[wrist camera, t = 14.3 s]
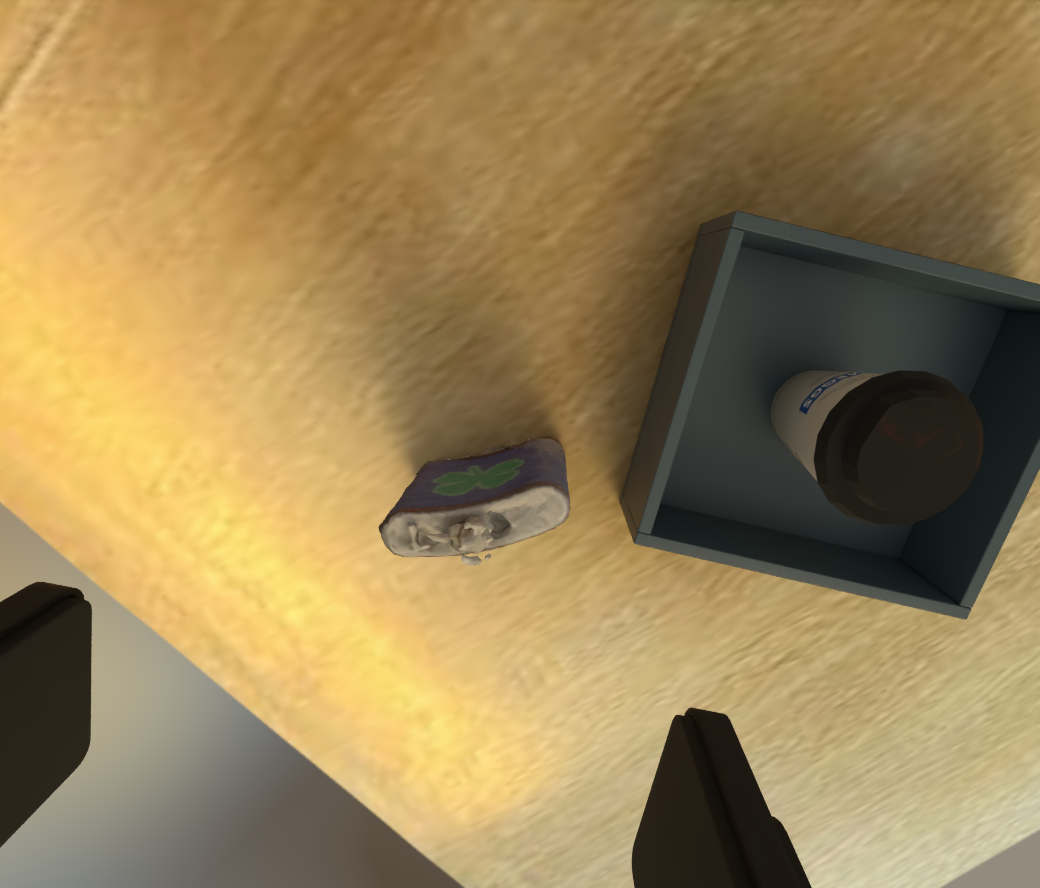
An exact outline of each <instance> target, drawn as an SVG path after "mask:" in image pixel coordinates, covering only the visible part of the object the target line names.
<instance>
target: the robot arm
mask: <svg viewBox="0 0 1040 888" xmlns="http://www.w3.org/2000/svg"><path fill="white" fill-rule="evenodd" d="M91 631H92V609H91V604H90V603H89V602H88V601H86V600H84V595H83V593H82V592H81V591H80V590H79V589H77V588H72V587H67V586H62V585H56V584H51V583H46V582H36V583H33V584H31V585H29V586H27V587H25V588H24V589H22V590H20V591H18V592H17V593H15V594H14V595H12V596H10V597H8V598H6V599H5V600H3V601H1V602H0V847H1V846H2V845H3V844H4V843H5V842H6V841H7V840H8V839H9V838H10V837H11V836H12V835H13V834H14V833H15V832H16V831H17V830H18V829H19V828H20V827H21V825H22V824H23V823H24V822H25V821H26V820H27V819H28V818H29V817H30V816H31V815H32V814H33V813H34V812H35V811H36V810H37V809H38V808H39V807H40V806H41V805H42V804H43V803H44V802H45V801H46V799H47V798H49V796H50V795H51V794H52V793H53V792H54V791H55V790H56V789H57V788H58V787H59V786H60V785H61V784H62V783H63V782H64V781H65V780H66V779H67V778H68V777H69V776H70V775H71V774H72V773H73V772H74V771H75V769H76V768H77V767H78V766H79V765H80V764H81V762H82V761H83V759H84V757H85V755H86V753H87V751H88V748H89V745H90V736H91V735H90V734H91V733H90V732H91V635H92V634H91V633H92V632H91ZM632 873H633V880H634V886H635V888H812V887H811V885H810V883H809V881H808V878H807V876H806V874H805V872H804V869H803V867H802V865H801V863H800V861H799V858H798V856H797V854H796V852H795V849H794V847H793V845H792V843H791V840H790V838H789V836H788V834H787V832H786V830H785V828H784V827H783V825H782V823H781V822H780V821H779V820H778V819H776V818H775V817H772V816H771V814H770V812H769V809H768V807H767V805H766V802H765V800H764V798H763V795H762V793H761V791H760V788H759V786H758V784H757V781H756V779H755V777H754V775H753V772H752V770H751V768H750V765H749V763H748V761H747V758H746V756H745V754H744V751H743V749H742V747H741V744H740V742H739V740H738V737H737V735H736V733H735V731H734V728H733V726H732V724H731V721H730V719H729V718H728V716H727V715H725V714H722V713H717V712H712V711H706V710H701V709H696V708H689V709H688V710H687V711H686V713H685V715H684V716H681V715H676V716H675V717H674V719H673V721H672V724H671V727H670V730H669V733H668V736H667V740H666V743H665V746H664V749H663V752H662V756H661V759H660V762H659V765H658V768H657V772H656V775H655V778H654V781H653V784H652V788H651V791H650V794H649V797H648V800H647V803H646V807H645V810H644V813H643V816H642V819H641V823H640V826H639V829H638V832H637V835H636V839H635V842H634V846H633V852H632Z"/></svg>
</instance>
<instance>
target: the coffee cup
mask: <svg viewBox="0 0 1040 888" xmlns="http://www.w3.org/2000/svg"><path fill="white" fill-rule="evenodd" d="M770 417H771V422H772V427H773V428H774V430H775V432H776V433H777V435H778V437H779V438H780V439H781V440H782V441H783V442H784V444H785V445H786V446H787V447H788V448H789V449H790V450H791V452H792V453H793V454H794V455H795V456H796V457H797V458H798V460H799V461H800V462H801V463H802V464H803V465H804V466H805V468H806V469H807V470H808V471H809V472H810V473H811V474H812V476H813V477H814V478H815V479H816V480H817V483H818V484H819V486H820V488H821V489H822V491H823V493H824V494H825V496H826V498H827V499H828V501H829V502H830V503H831V504H832V505H833V506H835V507H836V508H837V509H838V510H840V511H841V512H842V513H843V514H845V515H846V516H847V517H850V518H853V519H856V520H859V521H861V522H864V523H867V524H875V525H905V524H909V523H913V522H918V521H922V520H926V519H928V518H930V517H931V516H933V515H935V514H937V513H939V512H941V511H942V510H944V509H946V508H948V507H949V506H950V505H951V504H952V503H953V502H954V501H955V500H956V499H957V498H959V497H960V496H961V495H962V494H963V493H964V492H965V491H966V490H967V488H968V487H969V485H970V483H971V481H972V480H973V478H974V476H975V475H976V473H977V471H978V470H979V467H980V463H981V459H982V455H983V450H984V446H985V443H984V434H983V424H982V421H981V419H980V417H979V415H978V413H977V411H976V409H975V407H974V405H973V403H972V402H971V400H970V399H969V397H968V396H967V395H966V394H965V393H964V392H962V391H961V390H960V389H959V388H958V387H957V386H956V385H954V384H953V383H952V382H951V381H950V380H948V379H945V378H943V377H940V376H937V375H935V374H932V373H929V372H927V371H907V370H898V371H894V372H890V373H887V374H877V373H859V372H841V371H821V370H810V371H806V372H803V373H799V374H797V375H795V376H794V377H792V378H790V379H789V380H787V381H786V382H785V383H784V384H783V385H782V386H781V387H780V389H779V390H778V391H777V393H776V395H775V397H774V399H773V401H772V405H771V412H770Z"/></svg>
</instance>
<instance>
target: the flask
mask: <svg viewBox="0 0 1040 888" xmlns="http://www.w3.org/2000/svg"><path fill="white" fill-rule="evenodd" d="M416 475H417V476H416V477H415V479H414V480H413V482H412V483H411V484H410V485H409V486H408V487H407V488H406V489H405V492H404V493H403V495H402V497H401V498H400V499H399V501H398V502H397V503H396V505H395V507H394V508H393V509H392V510H391V511H390V512H389V514H388V515H387V517H386V518H385V520H384V521H383V522H382V523H381V524H380V526H379V531H380V533H381V537H382V539H383V541H384V544H385V545H386V547H387V548H388V549H389V550H390V551H391V552H392V553H393V554H395V555H399V556H402V557H439V556H457V555H462V562H463V563H464V564H467V565H475V566H476V565H479V564H480V563H481V561H482V560H481V559H480V558H478V557H477V556H475V557H467V556H465V554H470V553H477V554H478V553H479V552H482V551H487V550H492V549H495V548H500V547H503V546H506V545H510V544H513V543H516V542H519V541H522V540H525V539H527V538H531V537H534V536H537V535H540V534H543V533H545V532H547V531H549V530H552V529H555V528H556V527H557V526H559V525H560V524H562V523H563V522H565V521H566V519H567V517H568V516H569V511H570V498H569V491H568V483H567V475H566V461H565V451H564V449H563V447H562V446H561V444H559V443H558V441H556V440H554V439H551V438H538V439H529V440H528V439H527V440H526V441H525V443H522V444H520V445H513V446H508V447H505V446H500V447H495V446H494V447H493V448H491V449H486V450H485V451H484V453H481V454H479V455H478V456H470V455H469V454H467V455H466V456H464V457H462V458H460V459H450V458H449V457H448V458H447V459H442V460H435V461H428V462H427V463H426V464H425V465H424V466H423V467H422V468H421V469H420V471H419V472H418V473H417V474H416ZM489 558H491V555H489V554H488V555H486V556H485V560H488V559H489Z"/></svg>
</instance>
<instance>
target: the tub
mask: <svg viewBox="0 0 1040 888" xmlns="http://www.w3.org/2000/svg"><path fill="white" fill-rule="evenodd" d="M810 370H821V371H841V372H859V373H877V374H887V373H890V372H894V371H898V370H907V371H927V372H929V373H932V374H935V375H937V376H940V377H943V378H945V379H948V380H950V381H951V382H952V383H953V384H954V385H956V386H957V387H958V388H959V389H960V390H961V391H962V392H964V393H965V394H966V395H967V396H968V397H969V399H970V400H971V402H972V403H973V405H974V407H975V409H976V411H977V413H978V415H979V417H980V419H981V421H982V424H983V434H984V443H985V446H984V450H983V455H982V459H981V463H980V467H979V470H978V471H977V473H976V475H975V476H974V478H973V480H972V481H971V483H970V485H969V487H968V488H967V490H966V491H965V492H964V493H963V494H962V495H961V496H960V497H959V498H957V499H956V500H955V501H954V502H953V503H952V504H951V505H950V506H949V507H948V508H946V509H944V510H942V511H941V512H939V513H937V514H935V515H933V516H931V517H930V518H928V519H926V520H922V521H918V522H913V523H909V524H905V525H875V524H867V523H864V522H861V521H859V520H856V519H853V518H850V517H847V516H846V515H845V514H843V513H842V512H841V511H840V510H838V509H837V508H836V507H835V506H833V505H832V504H831V503H830V502H829V501H828V499H827V498H826V496H825V494H824V493H823V491H822V489H821V488H820V486H819V484H818V483H817V480H816V479H815V478H814V477H813V476H812V474H811V473H810V472H809V471H808V470H807V469H806V468H805V466H804V465H803V464H802V463H801V462H800V461H799V460H798V458H797V457H796V456H795V455H794V454H793V453H792V452H791V450H790V449H789V448H788V447H787V446H786V445H785V444H784V442H783V441H782V440H781V439H780V438H779V437H778V435H777V433H776V432H775V430H774V428H773V427H772V422H771V417H770V412H771V405H772V401H773V399H774V397H775V395H776V393H777V391H778V390H779V389H780V387H781V386H782V385H783V384H784V383H785V382H786V381H787V380H789V379H790V378H792V377H794V376H795V375H797V374H799V373H803V372H806V371H810ZM1039 469H1040V284H1036V283H1032V282H1028V281H1024V280H1020V279H1016V278H1011V277H1007V276H1003V275H999V274H995V273H991V272H987V271H983V270H979V269H974V268H970V267H966V266H962V265H958V264H954V263H950V262H946V261H942V260H937V259H933V258H929V257H925V256H921V255H917V254H913V253H909V252H905V251H900V250H896V249H892V248H888V247H884V246H880V245H876V244H872V243H868V242H863V241H859V240H855V239H851V238H847V237H843V236H839V235H835V234H831V233H826V232H822V231H818V230H814V229H810V228H806V227H802V226H798V225H794V224H789V223H785V222H781V221H777V220H773V219H769V218H765V217H761V216H757V215H752V214H748V213H744V212H740V211H734V212H731V213H729V214H726V215H723V216H721V217H718V218H715V219H713V220H710V221H707V222H705V223H702V224H701V225H700V228H699V232H698V235H697V239H696V242H695V245H694V249H693V252H692V256H691V259H690V262H689V266H688V269H687V273H686V276H685V280H684V283H683V286H682V290H681V293H680V297H679V300H678V303H677V307H676V310H675V314H674V317H673V321H672V324H671V327H670V331H669V334H668V338H667V341H666V344H665V348H664V351H663V355H662V358H661V362H660V365H659V368H658V372H657V375H656V379H655V382H654V385H653V389H652V392H651V396H650V399H649V403H648V406H647V409H646V413H645V416H644V420H643V423H642V426H641V430H640V433H639V437H638V440H637V444H636V447H635V450H634V454H633V457H632V461H631V464H630V467H629V471H628V474H627V478H626V481H625V485H624V488H623V491H622V495H621V498H620V505H621V507H622V510H623V513H624V516H625V519H626V522H627V524H628V527H629V530H630V533H631V536H632V539H633V542H634V543H635V544H638V545H642V546H646V547H651V548H655V549H660V550H664V551H668V552H673V553H677V554H681V555H686V556H690V557H694V558H699V559H703V560H708V561H712V562H716V563H721V564H725V565H729V566H734V567H738V568H742V569H747V570H751V571H756V572H760V573H764V574H769V575H773V576H777V577H782V578H786V579H790V580H795V581H799V582H804V583H808V584H812V585H817V586H821V587H825V588H830V589H834V590H839V591H843V592H847V593H852V594H856V595H860V596H865V597H869V598H873V599H878V600H882V601H887V602H891V603H895V604H900V605H904V606H908V607H913V608H917V609H921V610H926V611H930V612H935V613H939V614H943V615H948V616H952V617H956V618H961V619H967V617H968V615H969V613H970V611H971V608H972V607H973V605H974V603H975V601H976V599H977V597H978V595H979V593H980V591H981V589H982V586H983V584H984V582H985V580H986V578H987V576H988V574H989V572H990V570H991V568H992V566H993V564H994V562H995V560H996V558H997V556H998V554H999V551H1000V549H1001V547H1002V545H1003V543H1004V541H1005V539H1006V537H1007V535H1008V533H1009V531H1010V529H1011V527H1012V525H1013V523H1014V521H1015V519H1016V517H1017V514H1018V512H1019V510H1020V508H1021V506H1022V504H1023V502H1024V500H1025V498H1026V496H1027V494H1028V492H1029V490H1030V488H1031V486H1032V484H1033V482H1034V479H1035V477H1036V475H1037V473H1038V471H1039Z"/></svg>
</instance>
